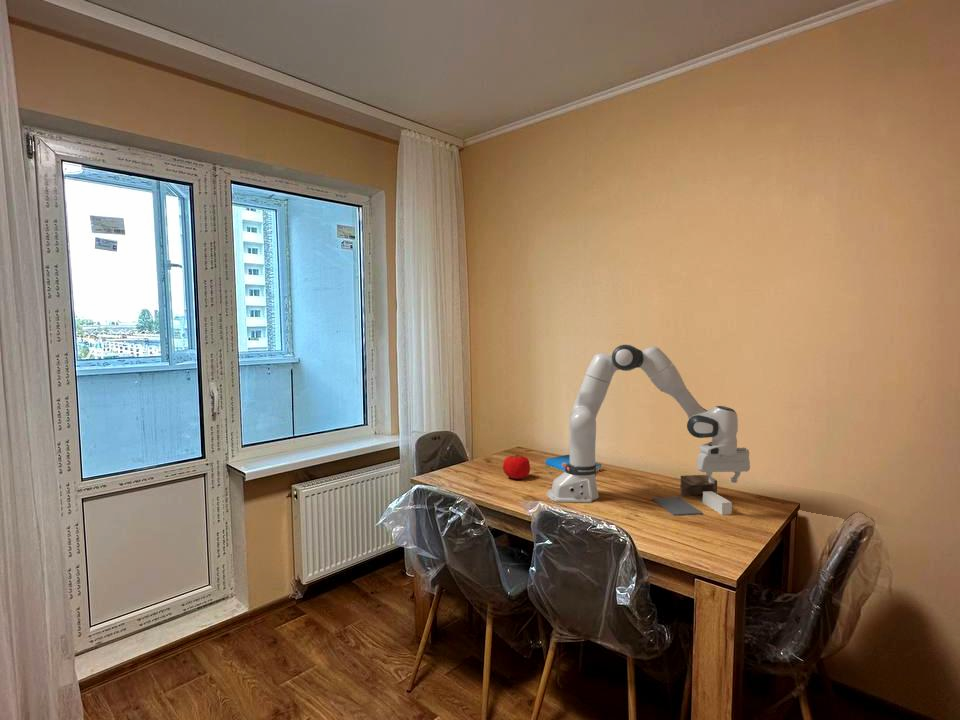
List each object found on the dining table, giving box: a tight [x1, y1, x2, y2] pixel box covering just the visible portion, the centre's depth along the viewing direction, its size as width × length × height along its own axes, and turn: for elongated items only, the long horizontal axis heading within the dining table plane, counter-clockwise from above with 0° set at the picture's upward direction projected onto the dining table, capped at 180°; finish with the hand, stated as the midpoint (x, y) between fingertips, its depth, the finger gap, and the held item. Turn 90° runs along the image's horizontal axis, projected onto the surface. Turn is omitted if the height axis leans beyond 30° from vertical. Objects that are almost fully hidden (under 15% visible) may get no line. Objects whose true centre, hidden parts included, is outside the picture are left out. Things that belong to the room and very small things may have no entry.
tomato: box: [502, 454, 531, 480], centre depth 245 cm, size 12×13×12 cm
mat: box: [651, 496, 704, 516], centre depth 203 cm, size 12×19×1 cm, turn 6°
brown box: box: [679, 474, 718, 496], centre depth 214 cm, size 12×9×8 cm
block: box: [702, 491, 733, 516], centre depth 201 cm, size 4×14×5 cm, turn 5°
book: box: [545, 454, 602, 472], centre depth 263 cm, size 17×4×25 cm
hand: (722, 482), depth 196 cm, fingers open, 8 cm apart
